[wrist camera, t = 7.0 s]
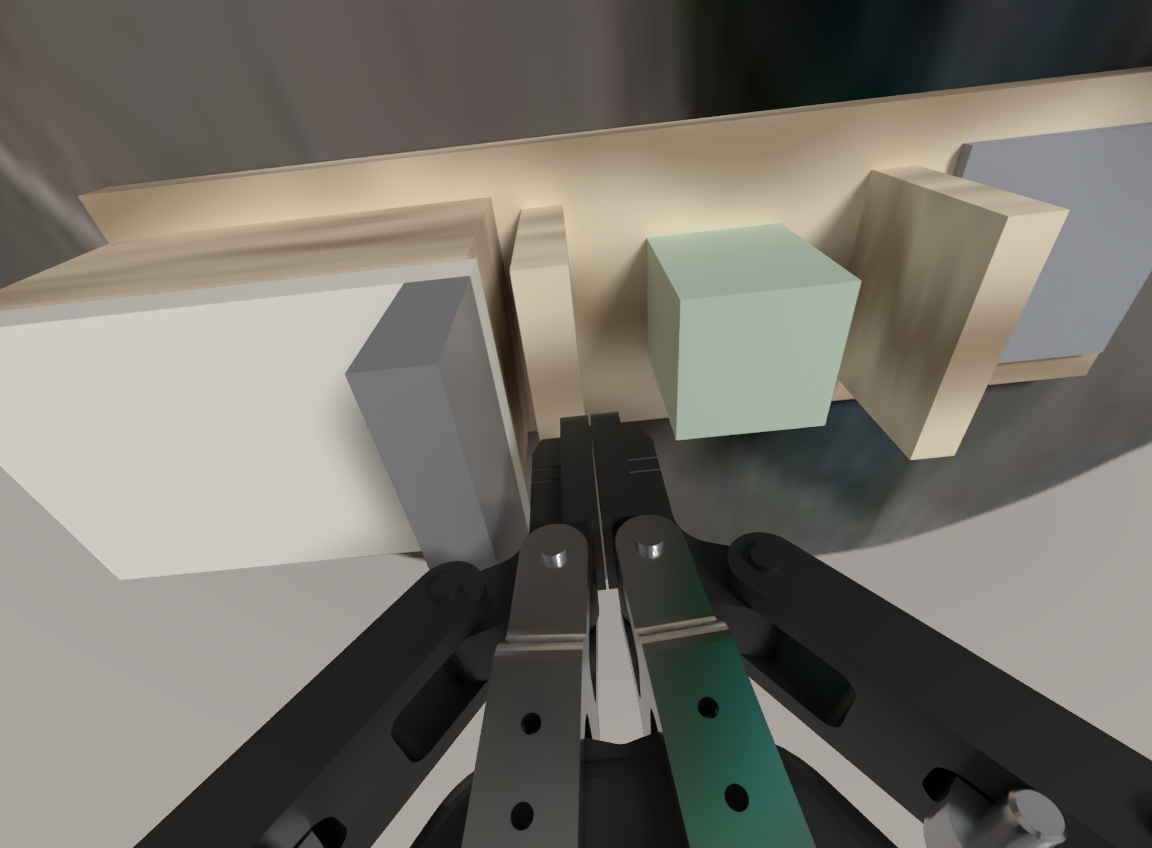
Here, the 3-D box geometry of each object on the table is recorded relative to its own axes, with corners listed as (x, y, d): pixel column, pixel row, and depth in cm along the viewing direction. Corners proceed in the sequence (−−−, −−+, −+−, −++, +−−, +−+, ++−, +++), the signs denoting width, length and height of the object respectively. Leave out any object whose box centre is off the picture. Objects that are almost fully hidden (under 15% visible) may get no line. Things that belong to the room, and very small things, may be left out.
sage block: (646, 237, 19) (680, 300, 14) (780, 222, 18) (861, 281, 14) (647, 354, 22) (675, 440, 17) (763, 342, 21) (824, 425, 17)
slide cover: (-78, 319, 12) (-398, 452, 8) (476, 258, 12) (437, 364, 8) (143, 551, 18) (18, 703, 14) (531, 513, 17) (525, 657, 13)
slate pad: (963, 143, 17) (972, 145, 17) (1229, 113, 17) (1245, 114, 17) (889, 368, 22) (896, 373, 22) (1092, 347, 22) (1101, 352, 22)
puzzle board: (109, 186, 18) (-133, 256, 12) (1226, 57, 17) (1627, 57, 11) (262, 441, 25) (165, 571, 19) (1059, 359, 24) (1242, 467, 18)
